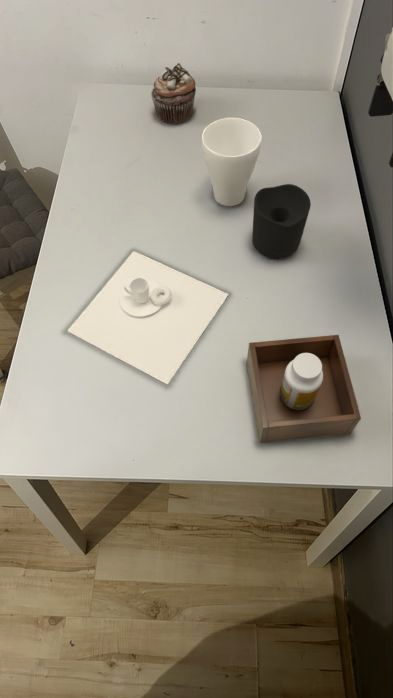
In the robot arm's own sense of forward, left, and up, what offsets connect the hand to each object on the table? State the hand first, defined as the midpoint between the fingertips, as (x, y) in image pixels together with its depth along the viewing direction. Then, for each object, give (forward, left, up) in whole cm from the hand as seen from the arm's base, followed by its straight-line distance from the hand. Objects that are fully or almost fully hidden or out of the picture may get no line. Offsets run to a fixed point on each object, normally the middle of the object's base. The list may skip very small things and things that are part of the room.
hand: (390, 138), depth 63 cm
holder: (+12, +22, -28) cm, 38 cm away
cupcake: (+26, -49, -28) cm, 62 cm away
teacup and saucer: (+34, +4, -28) cm, 45 cm away
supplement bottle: (+12, +22, -28) cm, 37 cm away
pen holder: (+10, -9, -28) cm, 32 cm away
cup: (+17, -22, -28) cm, 40 cm away
